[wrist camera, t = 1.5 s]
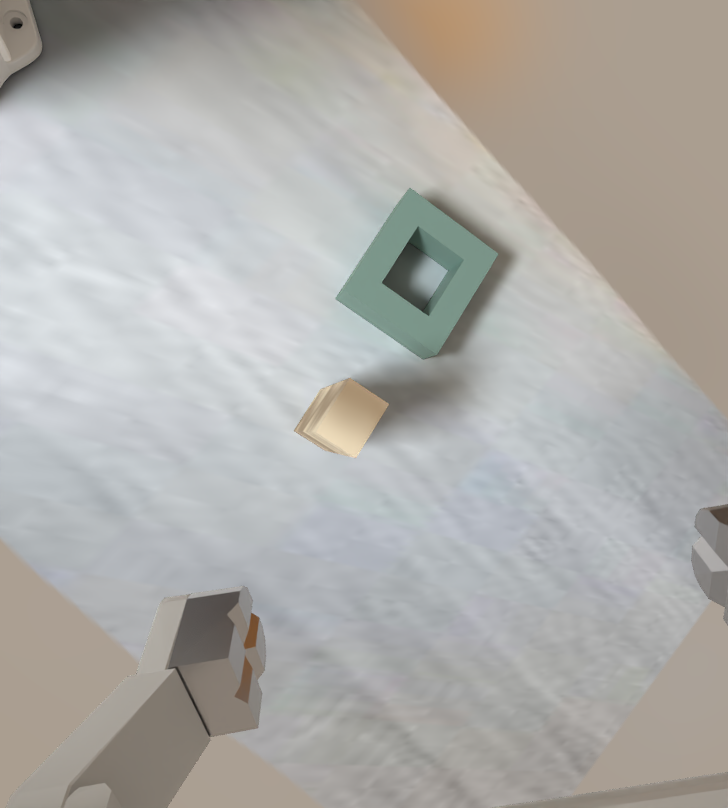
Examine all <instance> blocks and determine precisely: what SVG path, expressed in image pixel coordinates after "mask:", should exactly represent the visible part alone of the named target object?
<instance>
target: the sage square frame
mask: <svg viewBox="0 0 728 808" xmlns="http://www.w3.org/2000/svg"><path fill="white" fill-rule="evenodd" d="M408 242H410V243H411V244H412V245H414V246H415V247H417V248H418V249H419V250H421V251H422V252H423V253H425V254H426V255H428V256H429V257H430V258H432V259H433V260H434V261H436V262H437V263H439V264H440V265H441V266H443V267H444V268H445V269H447V270H448V272H447V274H446V275H445V277H444V278H443V280H442V282H441V283H440V285H439V286H438V288H437V290H436V291H435V293H434V294H433V296H432V298H431V299H430V301H429V303H428V304H427V306H426V307H425V309H424V311H423V312H422V311H421V310H419V309H418V308H416V307H415V306H414V305H412V304H411V303H409V302H408V301H406V300H405V299H404V298H402V297H401V296H399V295H398V294H397V293H395V292H394V291H392V290H391V289H389V288H388V287H387V286H385V285H384V284H382V281H383V280H384V278H385V277H386V275H387V274H388V272H389V271H390V269H391V267H392V266H393V264H394V263H395V261H396V260H397V258H398V257H399V255H400V253H401V252H402V250H403V249H404V247H405V246H406V244H407V243H408ZM497 256H498V253H497V252H495V251H494V250H493V249H491V248H490V247H489V246H487V245H486V244H485V243H483V242H482V241H481V240H479V239H478V238H477V237H475V236H474V235H473V234H471V233H470V232H469V231H467V230H466V229H465V228H463V227H462V226H461V225H459V224H458V223H457V222H455V221H454V220H453V219H451V218H450V217H449V216H447V215H446V214H445V213H443V212H442V211H441V210H439V209H438V208H437V207H435V206H434V205H432V204H431V203H430V202H428V201H427V200H426V199H424V198H423V197H422V196H420V195H419V194H418V193H416V192H415V191H414V190H412V189H411V188H409V189H408V191H407V192H406V193H405V195H404V196H403V197H402V198H401V200H400V201H399V202H398V204H397V205H396V207H395V208H394V210H393V211H392V213H391V214H390V216H389V217H388V219H387V220H386V222H385V223H384V225H383V227H382V228H381V230H380V231H379V233H378V234H377V236H376V237H375V239H374V240H373V242H372V243H371V245H370V246H369V248H368V249H367V251H366V253H365V254H364V256H363V257H362V259H361V260H360V262H359V263H358V265H357V266H356V268H355V269H354V271H353V272H352V274H351V276H350V277H349V279H348V280H347V282H346V283H345V285H344V286H343V288H342V289H341V291H340V292H339V294H338V295H337V297H336V300H338V301H339V302H341V303H342V304H343V305H345V306H346V307H348V308H349V309H351V310H352V311H354V312H355V313H357V314H358V315H359V316H361V317H362V318H364V319H365V320H367V321H368V322H370V323H371V324H372V325H374V326H375V327H377V328H378V329H380V330H381V331H383V332H384V333H385V334H387V335H388V336H390V337H391V338H393V339H394V340H396V341H397V342H399V343H400V344H401V345H403V346H404V347H406V348H407V349H409V350H410V351H412V352H413V353H414V354H416V355H417V356H419V357H420V358H422V359H426V358H429V357H432V356H435V355H437V354H438V352H439V351H440V349H441V347H442V346H443V344H444V343H445V341H446V339H447V338H448V336H449V334H450V333H451V331H452V329H453V328H454V326H455V325H456V323H457V321H458V320H459V318H460V316H461V315H462V313H463V311H464V310H465V308H466V307H467V305H468V303H469V302H470V300H471V298H472V297H473V295H474V293H475V292H476V290H477V289H478V287H479V285H480V284H481V282H482V280H483V279H484V277H485V275H486V274H487V272H488V271H489V269H490V267H491V266H492V264H493V262H494V261H495V259H496V257H497Z"/></svg>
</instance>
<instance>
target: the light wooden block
mask: <svg viewBox="0 0 728 808" xmlns="http://www.w3.org/2000/svg"><path fill="white" fill-rule="evenodd" d="M388 405H389V404H388V403H387V402H385V401H384V400H382V399H381V398H379V397H378V396H376V395H375V394H373V393H372V392H370V391H369V390H367V389H366V388H364V387H363V386H361V385H360V384H358V383H357V382H355V381H354V380H352V379H351V378H349V379H346V380H343V381H341V382H338V383H336V384H333V385H331V386H328V387H325V388H323V389H320V391H319V392H318V394H317V395H316V397H315V398H314V400H313V402H312V403H311V405H310V406H309V408H308V409H307V411H306V413H305V414H304V416H303V417H302V419H301V420H300V422H299V424H298V425H297V427H296V428H295V430H294V431H295V432H296V433H298V434H300V435H301V436H303V437H304V438H306V439H307V440H309V441H311V442H312V443H314V444H315V445H317V446H318V447H320V448H322V449H323V450H325V451H329V452H333V453H337V454H341V455H345V456H350V457H354V458H356V457H357V456H358V454H359V452H360V451H361V449H362V447H363V446H364V444H365V443H366V441H367V439H368V438H369V436H370V434H371V433H372V431H373V430H374V428H375V426H376V425H377V423H378V421H379V420H380V418H381V417H382V415H383V413H384V412H385V410H386V408H387V407H388Z"/></svg>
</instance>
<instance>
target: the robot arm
mask: <svg viewBox="0 0 728 808" xmlns="http://www.w3.org/2000/svg"><path fill="white" fill-rule="evenodd" d="M16 24H22V25H23V26H22V27H21V28H19V29H15V28H13V27H14V25H16ZM41 51H42V41H41V37H40V34H39V31H38V27H37V24H36V21H35V17H34V14H33V11H32V7H31V4H30V1H29V0H0V88H1V86H2V85H3V83H4V82H5V81H6V79H7V78H8V77H9V76H10V75H11V74H13V73H15V72H16V71H18V70H20V69H22V68H23V67H25V66H27V65H28V64H30V63H31V62H33V61H34V60H35V59H36V58H37V57H38V56H39V55H40V54H41ZM694 527H695V528H696V529H697V531H698V532H699V533H700V534H701V537H700V538H699V539H698V540H697V541H696V542H695V543H694V545H693V546H692V558H691V561H692V565H693V570H694V574H695V577H696V579H697V581H698V583H699V585H700V587H701V589H702V590H703V591H704V593H705V594H706V596H707V597H708V599H710V600H712V601H714V602H716V603H718V604H720V605H722V606H723V607H725V612H724V618H723V619H724V621H725V622H726V623H727V625H728V504H725V505H720V506H714V507H708V508H703V509H700V510H699V511H698V513H697V515H696V519H695V526H694ZM252 603H253V599H252V597H251V595H250V592H249V590H248V587H245V586H239V587H232V588H225V589H218V590H211V591H204V592H197V593H191V594H188V595H181V596H174V597H166V598H164V599H163V600H162V601H161V603H160V604H159V606H158V609H157V612H156V615H155V618H154V621H153V624H152V627H151V630H150V633H149V636H148V639H147V642H146V645H145V648H144V651H143V654H142V657H141V660H140V663H139V666H138V670H137V673H136V675H131V676H127V677H126V678H125V679H124V681H122V682H121V683H120V685H119V686H117V687H116V688H115V690H114V691H113V692H112V693H111V694H110V695H109V696H108V697H107V698H106V699H105V700H104V701H103V702H102V703H101V704H100V705H99V706H98V707H97V708H96V709H95V710H94V711H93V712H92V713H91V714H90V715H89V716H88V717H87V718H86V719H85V720H84V721H83V722H82V723H81V724H80V725H79V726H78V727H77V728H76V729H75V730H74V732H72V733H71V734H70V736H68V737H67V738H66V740H65V741H64V742H63V743H62V744H61V745H60V746H59V747H58V748H57V749H56V750H55V751H54V752H53V753H52V754H51V755H50V756H49V757H48V758H47V759H46V760H45V761H44V762H43V763H42V764H41V765H40V766H39V767H38V768H37V769H36V770H35V771H34V772H33V773H32V774H31V775H30V776H29V777H28V778H27V779H26V780H25V781H24V782H23V783H22V784H21V785H20V786H19V787H18V789H16V791H15V792H14V793H13V794H12V795H11V796H10V799H9V801H8V803H7V805H6V808H167V807H168V805H169V804H170V802H171V801H172V799H173V798H174V796H175V795H176V793H177V791H178V790H179V788H180V787H181V785H182V784H183V782H184V781H185V779H186V778H187V776H188V774H189V773H190V771H191V770H192V768H193V767H194V765H195V764H196V762H197V761H198V759H199V757H200V756H201V754H202V753H203V751H204V750H205V748H206V747H207V745H208V744H209V742H210V737H214V736H218V735H224V734H230V733H235V732H240V731H245V730H251V729H256V728H258V725H259V716H260V708H261V699H262V691H261V688H260V686H259V683H258V681H257V680H258V679H259V677H260V676H261V675H262V673H263V672H264V671H265V662H266V645H265V636H264V631H263V627H262V624H261V621H260V618H259V617H258V616H256V615H254V614H253V613H251V610H252ZM492 808H728V772H725V773H718V774H712V775H705V776H698V777H692V778H685V779H679V780H672V781H665V782H659V783H652V784H645V785H639V786H632V787H625V788H619V789H612V790H606V791H599V792H592V793H586V794H579V795H573V796H566V797H559V798H552V799H546V800H539V801H532V802H526V803H519V804H512V805H506V806H499V807H492Z"/></svg>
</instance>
